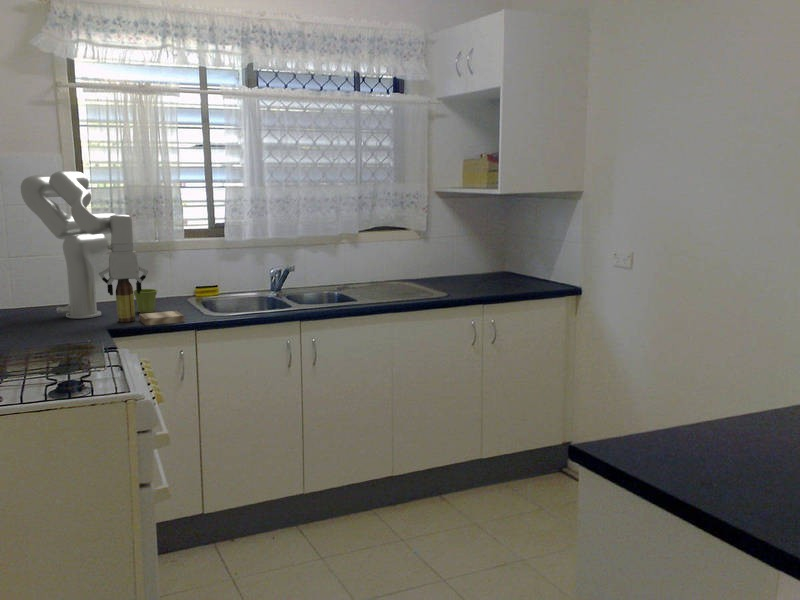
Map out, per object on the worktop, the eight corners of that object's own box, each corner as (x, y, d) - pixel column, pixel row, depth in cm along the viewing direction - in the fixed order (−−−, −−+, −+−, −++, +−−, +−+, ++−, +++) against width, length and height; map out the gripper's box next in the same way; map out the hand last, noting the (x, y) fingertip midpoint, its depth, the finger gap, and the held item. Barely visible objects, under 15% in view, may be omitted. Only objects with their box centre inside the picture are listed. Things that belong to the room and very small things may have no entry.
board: (145, 325, 271) (145, 318, 271) (139, 320, 281) (139, 313, 280) (184, 322, 278) (184, 315, 278) (177, 317, 288) (176, 310, 287)
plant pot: (147, 308, 305) (146, 287, 303) (163, 311, 300) (162, 289, 298) (128, 312, 297) (127, 290, 295) (145, 314, 292) (143, 293, 290)
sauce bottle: (129, 318, 284) (127, 267, 281) (138, 320, 280) (136, 268, 277) (113, 321, 279) (110, 268, 276) (122, 323, 275) (120, 270, 272)
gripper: (99, 250, 267) (101, 297, 270) (148, 248, 276) (151, 293, 279) (95, 248, 274) (98, 294, 277) (144, 246, 282) (146, 290, 285)
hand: (124, 293), depth 278 cm, fingers open, 9 cm apart
